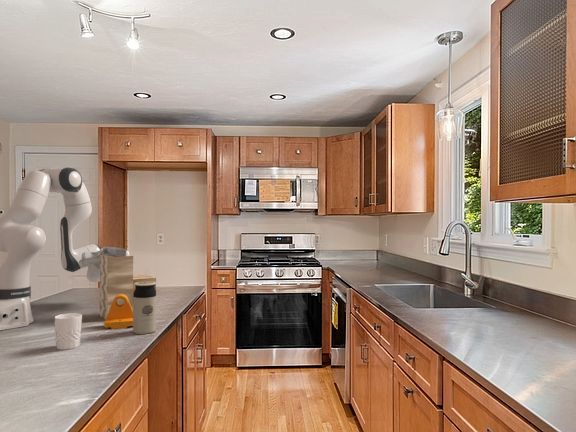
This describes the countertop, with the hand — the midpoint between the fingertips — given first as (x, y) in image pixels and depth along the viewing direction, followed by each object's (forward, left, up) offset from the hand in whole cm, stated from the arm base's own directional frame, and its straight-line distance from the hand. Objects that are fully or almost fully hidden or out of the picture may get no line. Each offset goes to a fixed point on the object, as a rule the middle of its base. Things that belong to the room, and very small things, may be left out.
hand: (109, 249), depth 184 cm
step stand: (+1, -11, -28) cm, 30 cm away
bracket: (-14, -24, -28) cm, 40 cm away
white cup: (-40, -31, -28) cm, 58 cm away
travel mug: (-15, -39, -28) cm, 50 cm away
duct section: (-2, -6, -2) cm, 7 cm away
